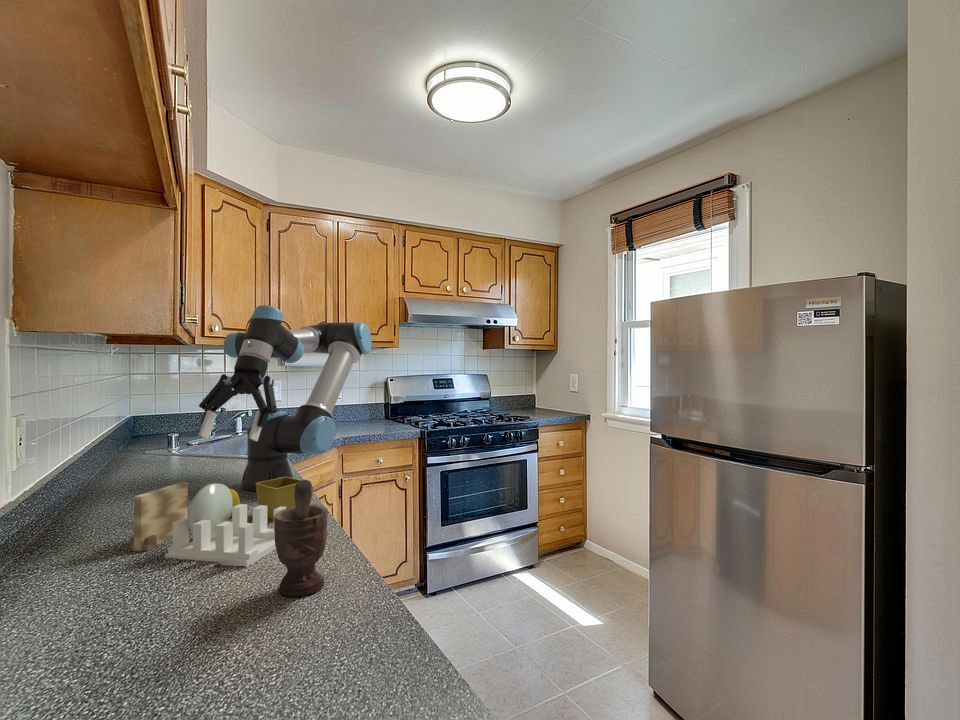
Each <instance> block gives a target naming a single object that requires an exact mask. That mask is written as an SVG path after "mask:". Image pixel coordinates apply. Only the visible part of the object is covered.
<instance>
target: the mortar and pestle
mask: <svg viewBox="0 0 960 720" xmlns="http://www.w3.org/2000/svg"><path fill="white" fill-rule="evenodd" d="M300 480H301V481H299V482H298V483H297V484H296V486H295V490H294V500H295V505H296V506H294V507H289V508H286V509H284V510H281V511H279V512H278V513H276V515H275V516H274V519H273V525H274V529H275V547H276V549H275V550H276V553H277V554H276V555H277V557H278V561H280V563H281V564H282V565H284V566H285V567H286V569H287V571H286V573H285V574H284V576H283V577H282V578H281V581H280V583H279V586H278V592H279V594H280V595H282V596H287V597H297V596H302V597H304V596H303V595H306V596H309V595H308V594H311V593H314V592H316V591H317V592H319V591H320V590H322V587H324V585H325V578H324V574H323V573H322V572H320V571H319V570H318V569H317V568H316V563H317V562H318V561H320V559H321V558H322V556H323V554H324V552H325V548H326V545H327V538H328V518H329V517H328V516H329V515H328V513H329V509H328V508H327V507H326V506H323V505H320V504H316V503H315V504H311V502H312V498H313V492H314V487H313V484H312V482H311V481H310V480H308V479H300ZM319 589H320V590H319ZM317 592H316V593H317ZM314 594H315V593H314ZM311 595H312V594H311Z"/></svg>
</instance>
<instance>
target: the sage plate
mask: <svg viewBox="0 0 960 720" xmlns="http://www.w3.org/2000/svg"><path fill="white" fill-rule="evenodd" d="M228 488H229V487H228V486H226V485H225V484H223V483H215V482H214V483H213V482H212V483H208V484H205V485H204V486H202V487H201V488H200V489H199V490H198V491H197V492H196V494H195V495H194V496H193V499H192V500H191V502H190V506H189V507H188V508H189V509H188V524H189V528H190V531H191V532H190V533H191V534H192V535H193V524H194V523H197V522H199V521H201V520H211V538H213V537H215V536H216V525H218V524H220V523H222V522H225V521H227V522H230V521H229V520H230V519H231V517H230V516H231V512H232V506H233V500H232V495H231V492H230V490H229V489H228Z"/></svg>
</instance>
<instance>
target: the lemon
mask: <svg viewBox="0 0 960 720" xmlns="http://www.w3.org/2000/svg"><path fill="white" fill-rule="evenodd" d="M228 489H229V490H230V492H231V495H232V500H233V506H232V507H234V506H236V505H239V504H241V502H240V496H239V493H238V492H237V491H236V490H235V489H233V488H230V487H228ZM230 518H232V512H231V516H230Z"/></svg>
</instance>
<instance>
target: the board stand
mask: <svg viewBox="0 0 960 720" xmlns="http://www.w3.org/2000/svg"><path fill="white" fill-rule="evenodd" d="M190 533H192V532H191V531H190V528H189V534H190ZM157 545H158V544H157V535H151V536H149V537H147V538H145V544H144V550H143V551H142V552H149V551H152V550H154V549H156V548H157ZM131 550H132V551H134V535H133V536H130V551H131Z"/></svg>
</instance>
